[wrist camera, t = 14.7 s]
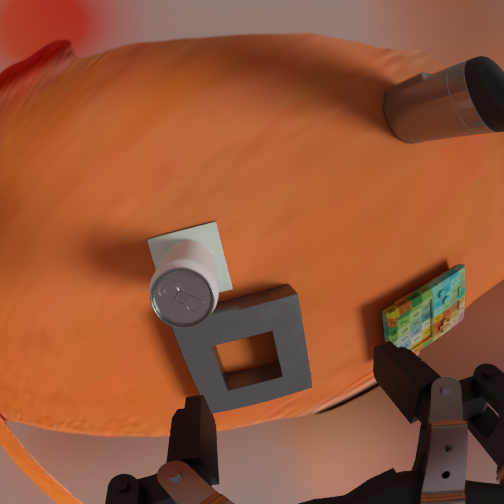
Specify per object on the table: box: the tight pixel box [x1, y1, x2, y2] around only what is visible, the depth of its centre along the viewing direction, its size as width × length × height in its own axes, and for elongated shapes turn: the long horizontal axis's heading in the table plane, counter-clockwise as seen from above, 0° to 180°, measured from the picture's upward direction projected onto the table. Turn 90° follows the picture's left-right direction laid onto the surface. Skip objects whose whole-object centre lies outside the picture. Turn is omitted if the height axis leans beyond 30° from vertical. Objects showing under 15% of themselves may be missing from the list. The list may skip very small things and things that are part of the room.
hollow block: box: [172, 284, 312, 413], centre depth 36 cm, size 16×16×4 cm
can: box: [149, 240, 219, 329], centre depth 28 cm, size 6×6×12 cm
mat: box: [147, 222, 233, 293], centre depth 34 cm, size 9×9×1 cm
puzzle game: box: [382, 264, 465, 353], centre depth 41 cm, size 12×5×20 cm
